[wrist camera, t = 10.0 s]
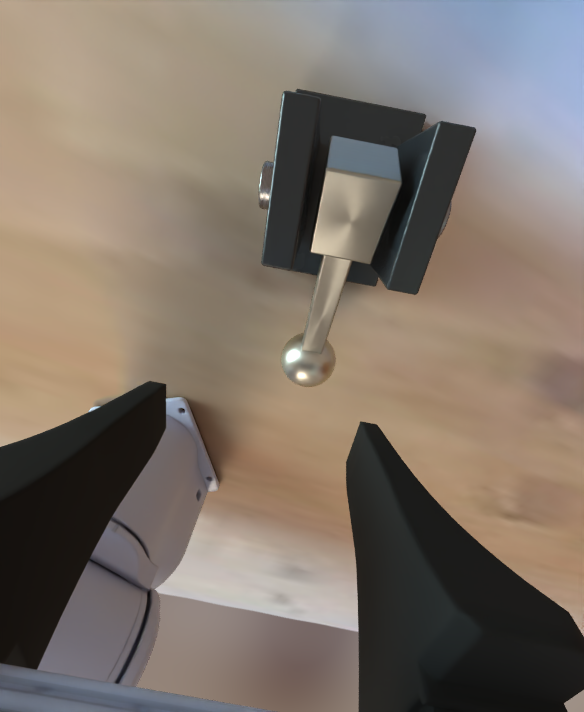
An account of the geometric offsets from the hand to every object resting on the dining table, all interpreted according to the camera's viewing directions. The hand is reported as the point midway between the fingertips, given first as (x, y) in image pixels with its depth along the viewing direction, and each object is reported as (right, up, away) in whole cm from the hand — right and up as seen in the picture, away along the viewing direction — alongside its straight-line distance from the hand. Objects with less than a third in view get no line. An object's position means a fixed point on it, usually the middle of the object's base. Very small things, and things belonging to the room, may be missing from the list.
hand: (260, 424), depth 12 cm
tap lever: (+3, +6, +3) cm, 8 cm away
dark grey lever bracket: (+4, +11, +5) cm, 13 cm away
